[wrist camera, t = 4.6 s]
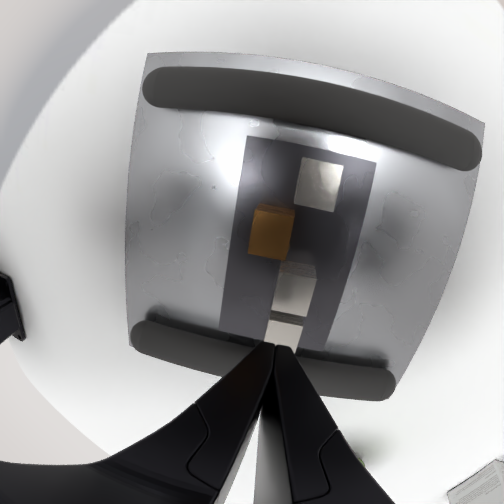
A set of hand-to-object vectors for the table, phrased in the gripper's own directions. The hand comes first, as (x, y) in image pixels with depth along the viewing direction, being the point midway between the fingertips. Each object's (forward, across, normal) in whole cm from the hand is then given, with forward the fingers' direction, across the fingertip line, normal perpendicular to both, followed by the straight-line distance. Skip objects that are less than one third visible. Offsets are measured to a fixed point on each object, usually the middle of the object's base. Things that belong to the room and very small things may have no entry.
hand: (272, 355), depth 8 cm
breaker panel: (+6, 0, -2) cm, 7 cm away
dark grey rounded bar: (+4, 0, -7) cm, 8 cm away
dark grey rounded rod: (+4, 0, +3) cm, 5 cm away
